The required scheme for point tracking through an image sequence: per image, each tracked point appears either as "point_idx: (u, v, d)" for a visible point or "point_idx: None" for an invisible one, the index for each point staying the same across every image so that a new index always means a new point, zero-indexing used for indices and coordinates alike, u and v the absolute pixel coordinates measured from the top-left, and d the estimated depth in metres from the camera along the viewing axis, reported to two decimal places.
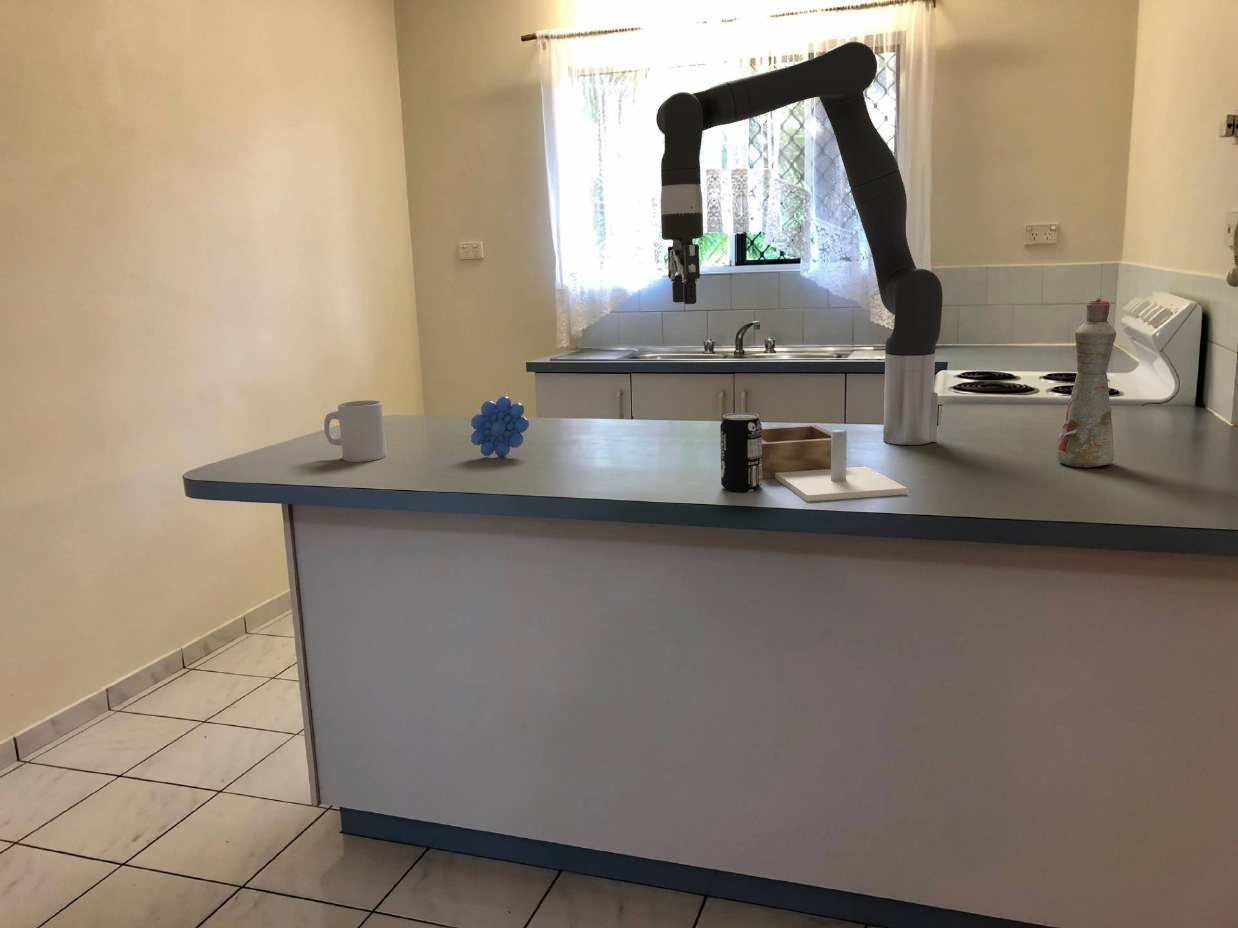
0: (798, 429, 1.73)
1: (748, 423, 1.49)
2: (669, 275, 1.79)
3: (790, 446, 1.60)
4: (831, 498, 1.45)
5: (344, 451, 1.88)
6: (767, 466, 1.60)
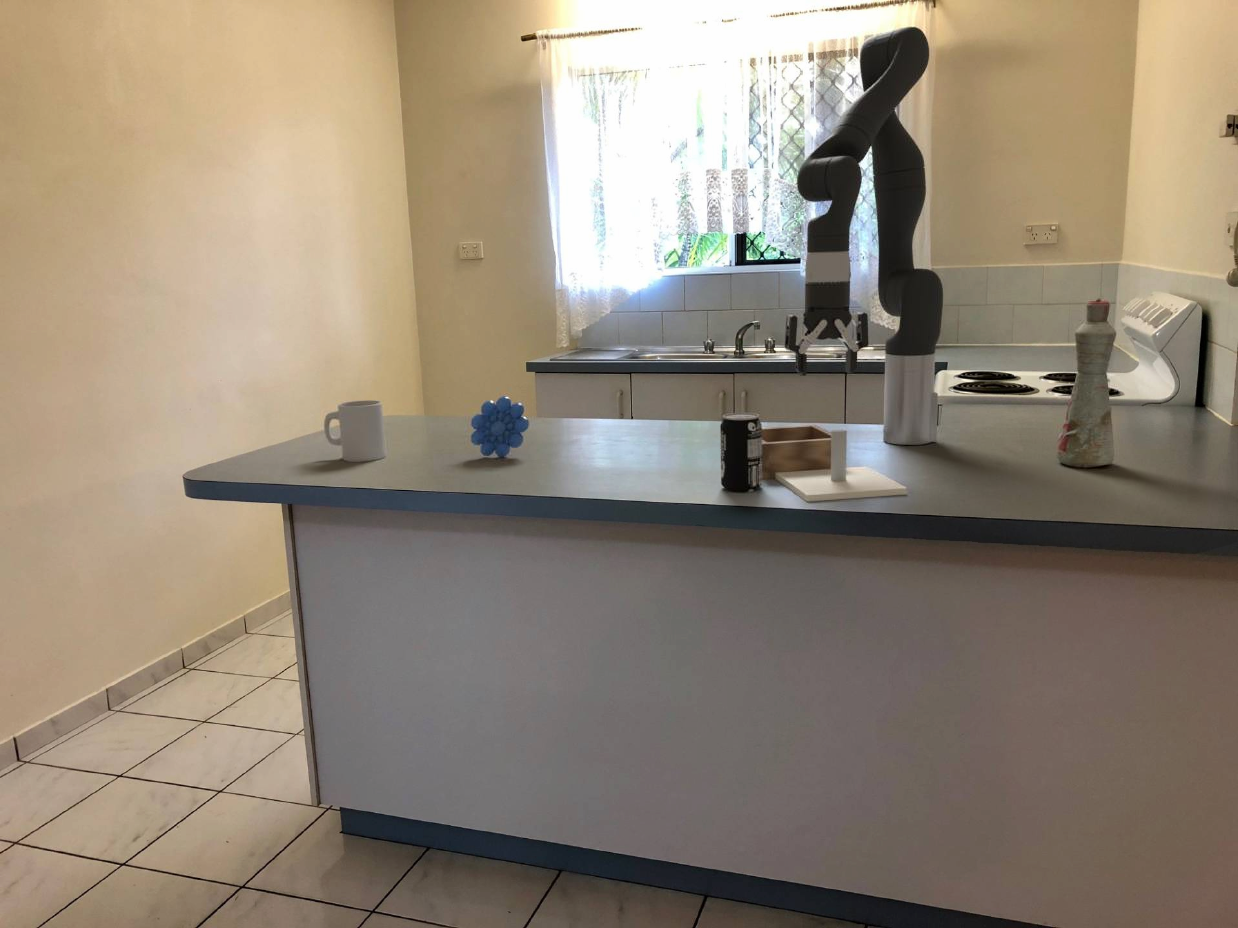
0: (798, 429, 1.73)
1: (748, 423, 1.49)
2: (794, 347, 1.63)
3: (790, 446, 1.60)
4: (831, 498, 1.45)
5: (344, 451, 1.88)
6: (767, 466, 1.60)
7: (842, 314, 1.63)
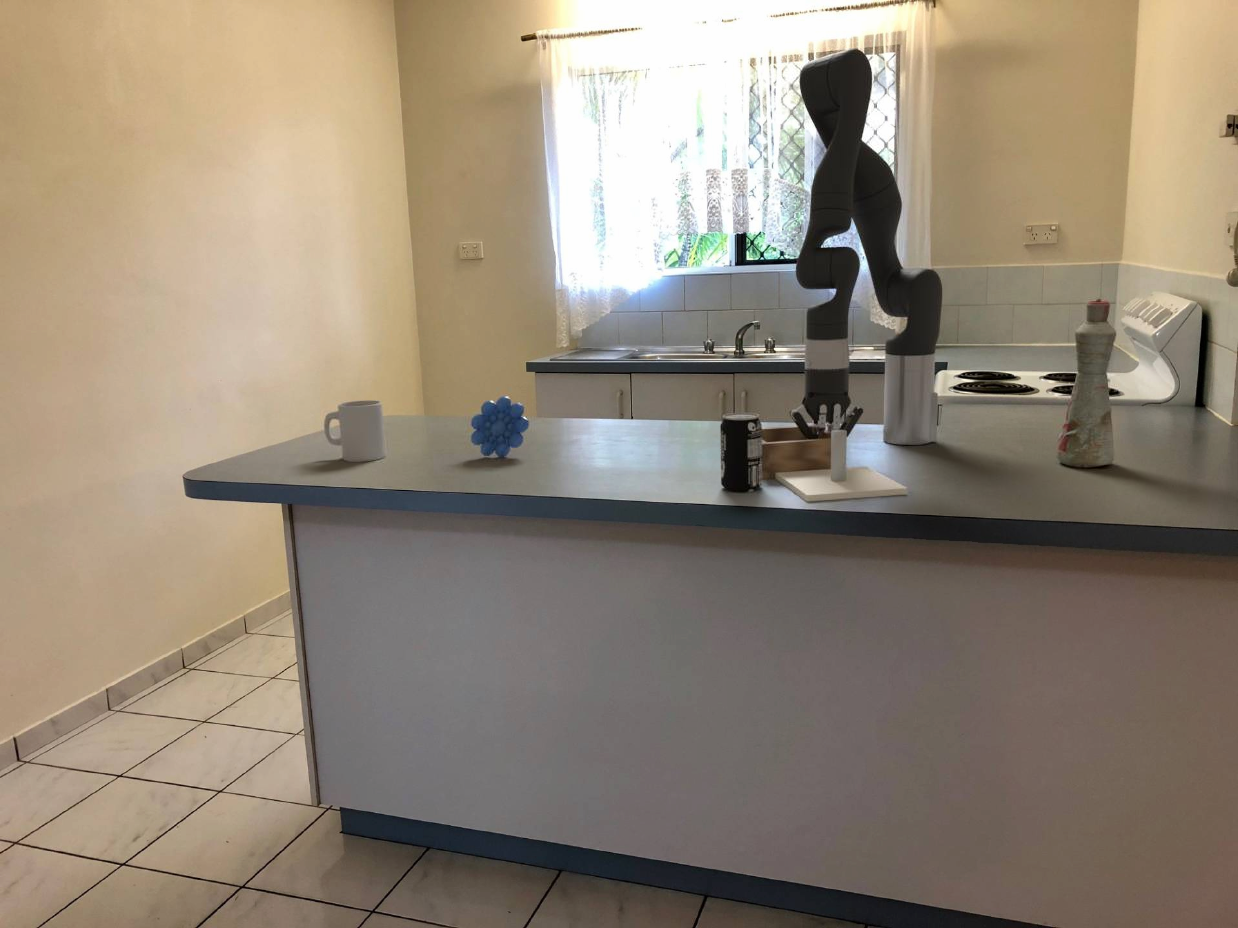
0: (798, 429, 1.73)
1: (748, 423, 1.49)
2: (813, 435, 1.66)
3: (790, 446, 1.60)
4: (831, 498, 1.45)
5: (344, 451, 1.88)
6: (767, 466, 1.60)
7: (844, 396, 1.66)
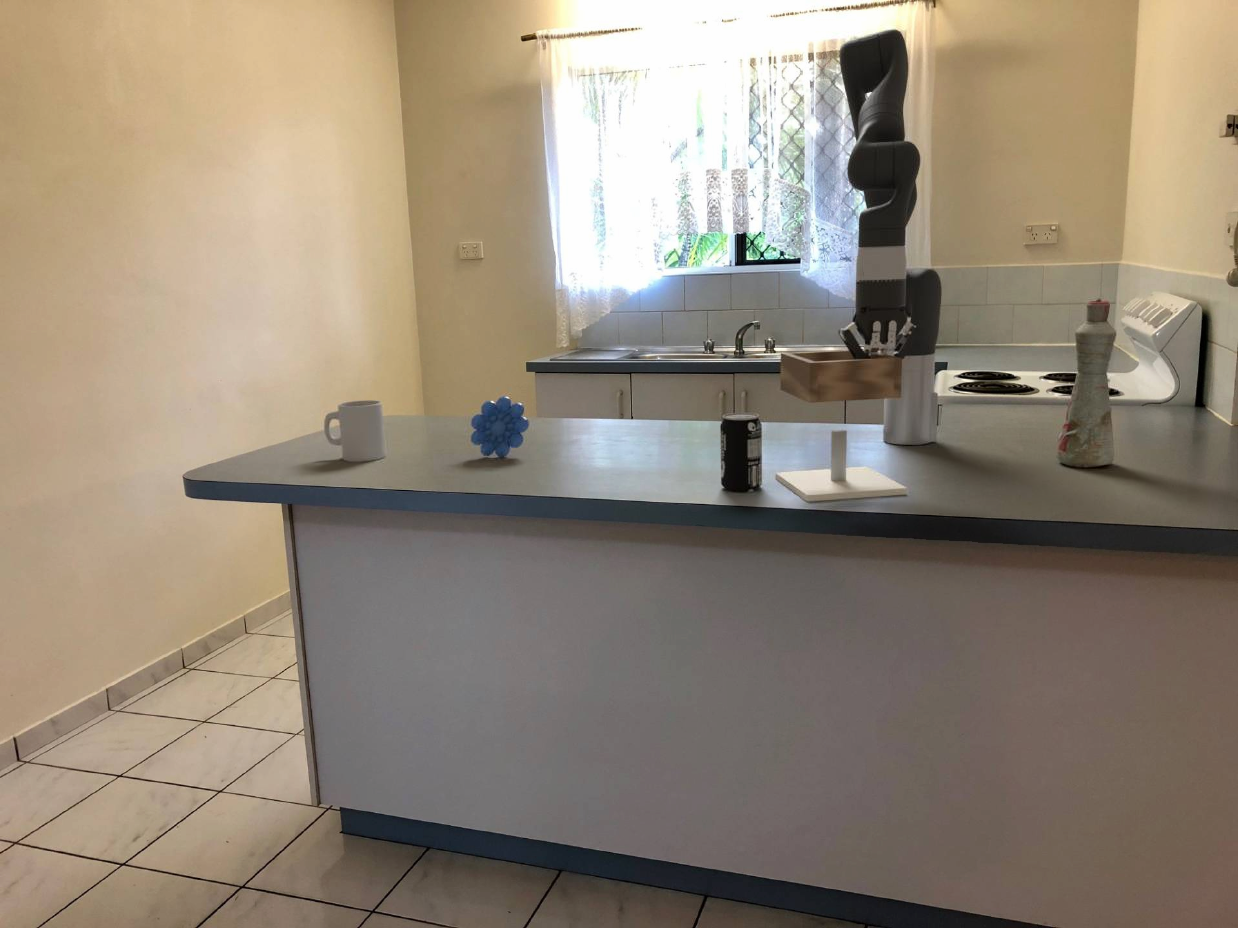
0: (846, 354, 1.56)
1: (748, 423, 1.49)
2: (864, 357, 1.48)
3: (841, 366, 1.42)
4: (831, 498, 1.45)
5: (344, 451, 1.88)
6: (815, 388, 1.42)
7: (900, 313, 1.48)
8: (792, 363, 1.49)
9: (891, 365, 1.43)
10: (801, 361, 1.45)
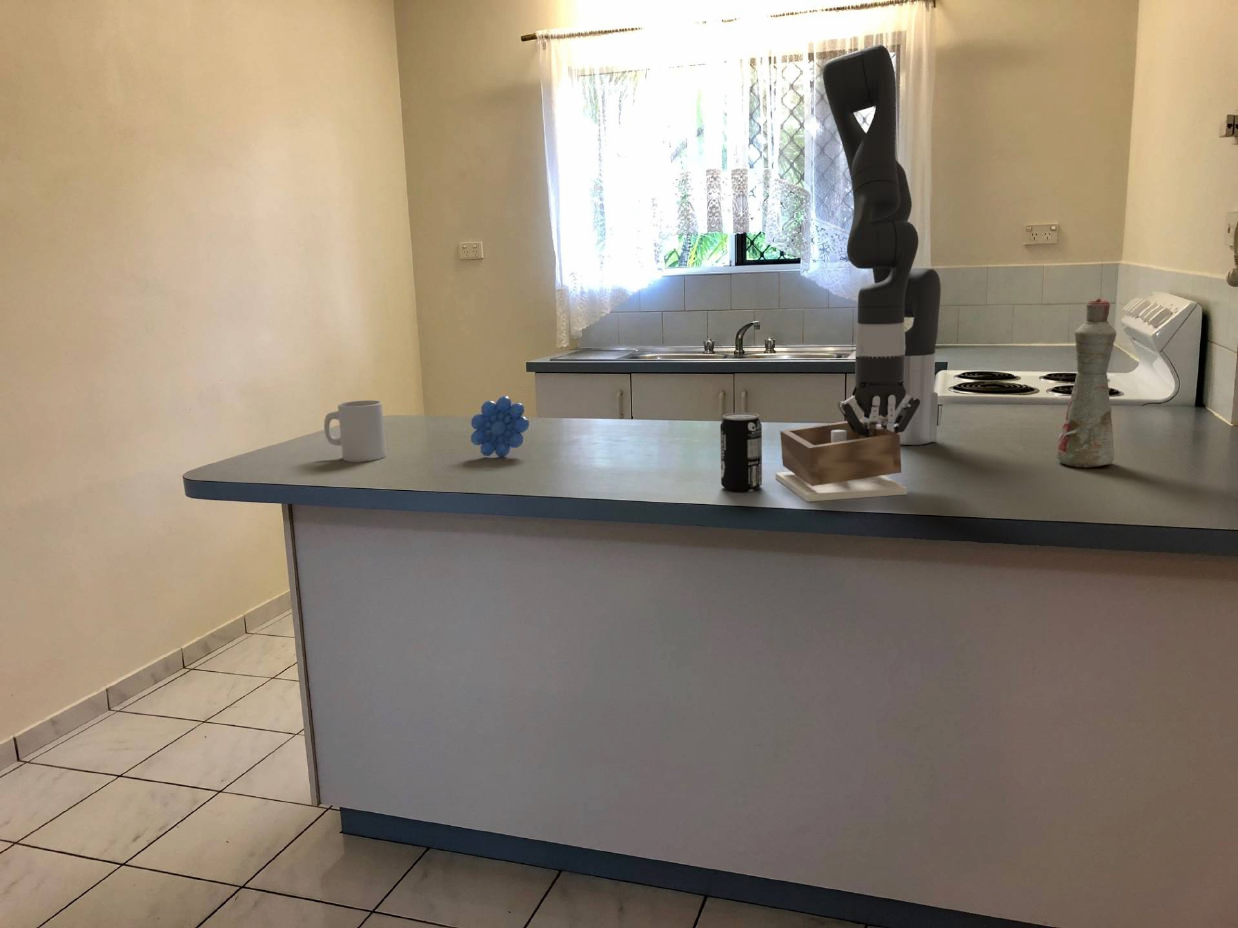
0: (844, 426, 1.58)
1: (748, 423, 1.49)
2: (863, 430, 1.51)
3: (840, 448, 1.45)
4: (831, 498, 1.45)
5: (344, 451, 1.88)
6: (816, 472, 1.45)
7: (899, 387, 1.50)
8: (792, 443, 1.52)
9: (889, 442, 1.46)
10: (800, 444, 1.48)
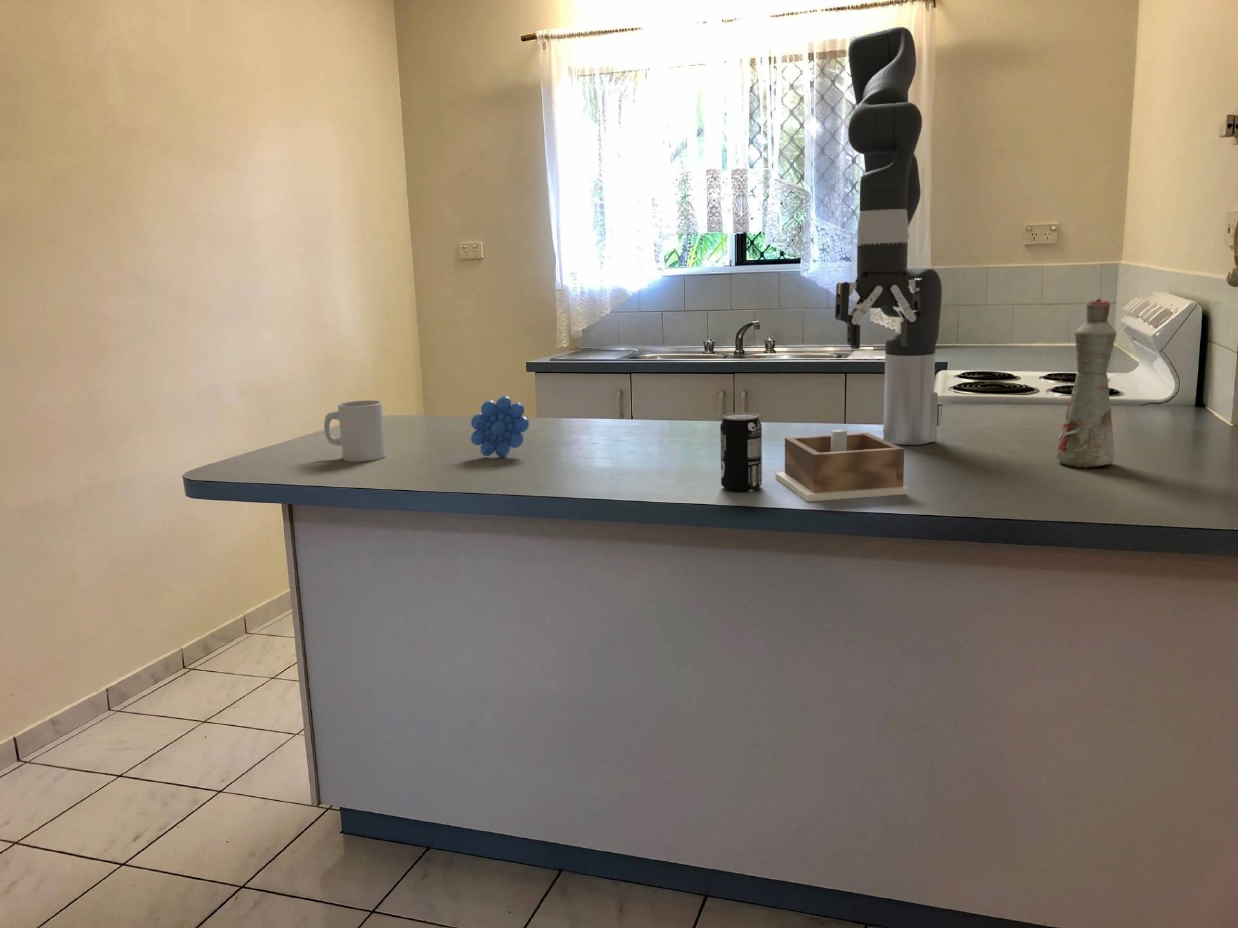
0: (848, 438, 1.59)
1: (748, 423, 1.49)
2: (846, 317, 1.47)
3: (845, 457, 1.45)
4: (831, 498, 1.45)
5: (344, 451, 1.88)
6: (819, 479, 1.45)
7: (899, 279, 1.47)
8: (796, 450, 1.52)
9: (893, 455, 1.46)
10: (805, 451, 1.48)
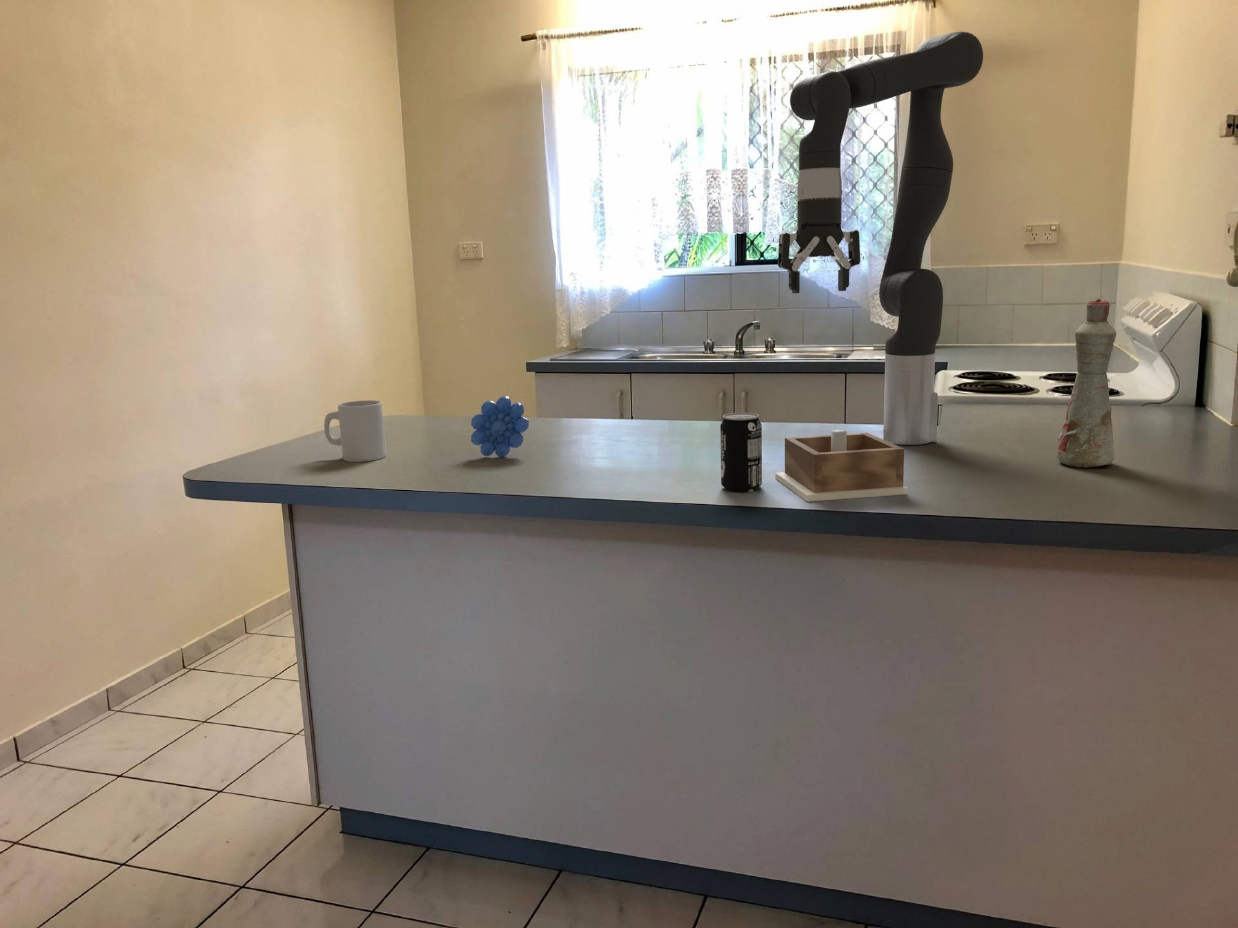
0: (848, 438, 1.59)
1: (748, 423, 1.49)
2: (787, 264, 1.65)
3: (845, 457, 1.45)
4: (831, 498, 1.45)
5: (344, 451, 1.88)
6: (819, 479, 1.45)
7: (834, 231, 1.65)
8: (796, 450, 1.52)
9: (893, 455, 1.46)
10: (805, 451, 1.48)
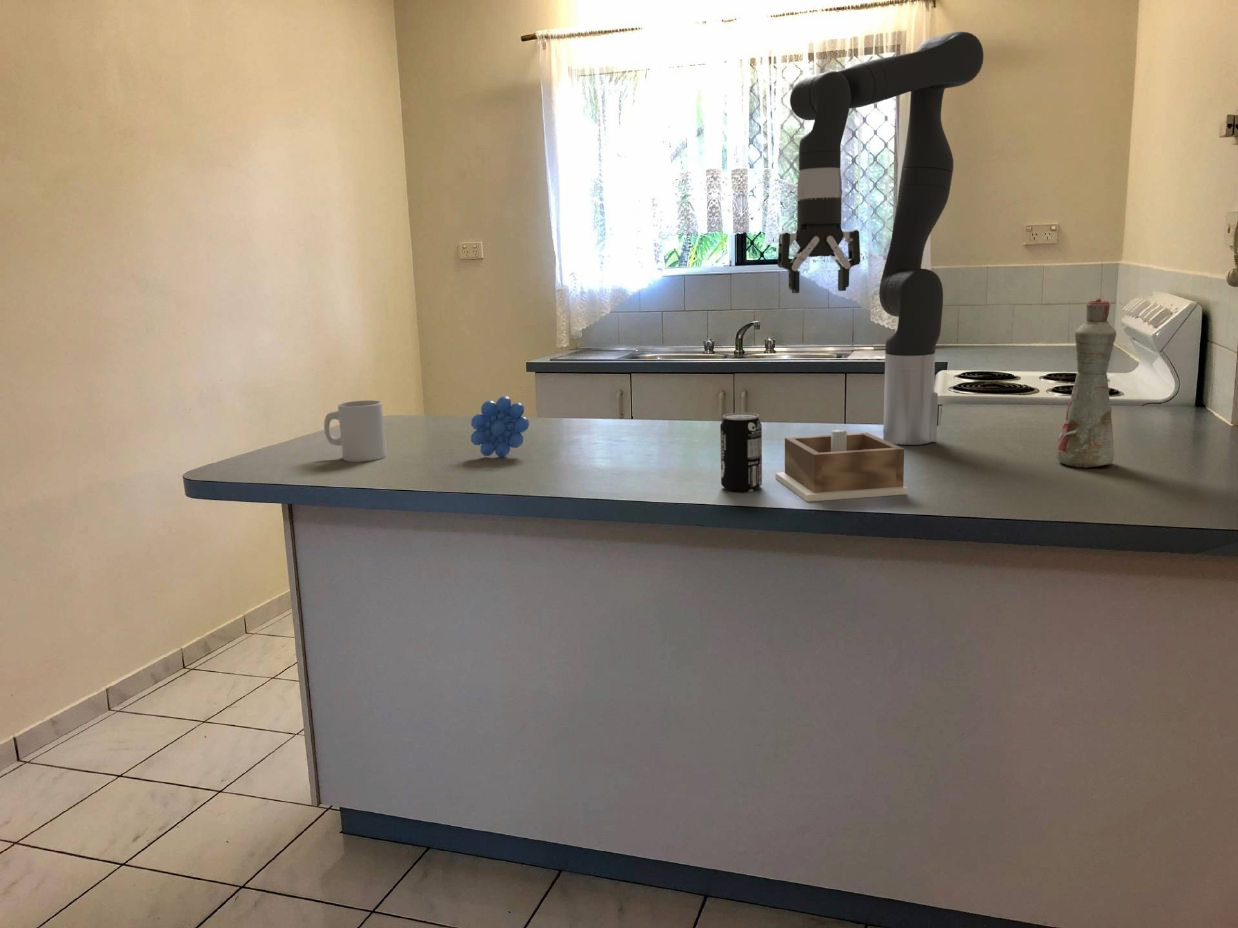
0: (848, 438, 1.59)
1: (748, 423, 1.49)
2: (787, 264, 1.65)
3: (845, 457, 1.45)
4: (831, 498, 1.45)
5: (344, 451, 1.88)
6: (819, 479, 1.45)
7: (834, 231, 1.65)
8: (796, 450, 1.52)
9: (893, 455, 1.46)
10: (805, 451, 1.48)
